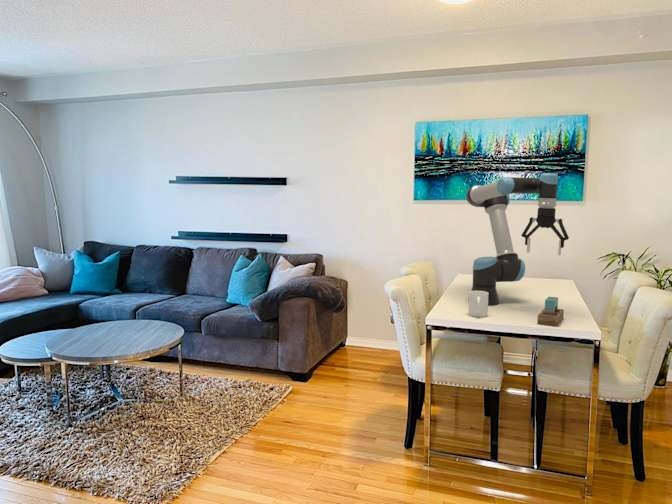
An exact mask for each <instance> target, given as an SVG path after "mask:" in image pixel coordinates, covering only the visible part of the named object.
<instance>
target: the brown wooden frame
mask: <svg viewBox="0 0 672 504" xmlns="http://www.w3.org/2000/svg"><path fill="white" fill-rule="evenodd" d="M544 311H545V307H543V309H542V310H541V311H540V312H539V313H538V314H537V321H536V324H537V325H542V326H549V327H550V326H551V327H558V326H559V325H560V324H561V322H562V321H563V319H564V311H565V310H564V309H563V308H561V309H560V308H558V311H557V312H555V315H546V314H544Z"/></svg>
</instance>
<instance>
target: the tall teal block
mask: <svg viewBox="0 0 672 504" xmlns="http://www.w3.org/2000/svg"><path fill="white" fill-rule="evenodd" d="M544 308H545V311H544V314H546V315H555V312H557V311H558V309H559V297H558V296H557V297H556V296H548V297H547V298H546V299H545V300H544Z"/></svg>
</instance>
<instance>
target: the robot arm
mask: <svg viewBox="0 0 672 504" xmlns="http://www.w3.org/2000/svg"><path fill="white" fill-rule="evenodd" d="M558 179H559V177H558V174H557V173H552V172H551V173H548V172H547V173H541V174H540V176H539V177H512V176H510V177H509V176H505V177H504V176H503V177H500V178H498V180H497V181H493V182H491V183H490V182H489V183H487V184H484V185H479V184H478V185H473V186H471V187H469V188H468V189H467V191H466V193H465V198H466V199H465V200H466V201H467V203H468V204H470V205H471V206H473V207H476V208H484V211H485V213H486V214H488V216H489V222H490V228H491V233H492V237H493V242H494V246H495V251H496V256H483V257H482V256H481V257H477V258H475V259H474V260H473V265H472V288H471V290H470V291H485V292H488V293H489V295H488V306H496V305H499V303H500V298H499V294H498V292H497V283H502V282H503V283H505V282H506V283H508V282H509V283H510V282H511V283H513V282H519V281H520V280H522V279H523V278H524V276H525V273H526V263H525V261H524V260H523V259H522V258H519V254H518V253H517V252H515V251H514V247H513V242H512V238H511V231H510V227H509V224H508V219H507V214H506V210H507V209H508V206H509V204H510V199H511V196H510V195H512V194H517V195H518V194H520V195H523V194H528V195H538V203H537V206H538V208H537V215H536V216H537V217H530V218H529V220H528V223H527V224H526V227H525V229H523V232H522V233H521V237H522V238H524V239H525V240H524V241H525V242H524V246H526V253H530V249H531V239H532V238H531V237H530V236H532V235H533V234H534V233H535V232H536V231H537V230H538V229H539V228H542V229H543V228H544V229H545V228H546V229H551V230H552V231H553V232H554V234H556V236H557V237H558V238H559V240H558V247H557V256H561V252H562V249H563V248H564V247H565V241H567V240H569V239H570V237H569V235H568V233H567V231H566V228H565V226H564V223H563V219H562V218H556V207H557V195H558V185H559V181H558ZM535 222H536V223H537V224H536V225H535V226H534V227H533V228H532V229H531V230H530V228H531V226H532V225H533V223H535ZM555 223H557V224H558V226H559V228H560V230H561V232H560V231H559V230H558V229H557V227H556V226H555ZM529 230H530V231H529ZM528 231H529V232H528ZM468 302H469V299H468Z"/></svg>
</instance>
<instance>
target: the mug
mask: <svg viewBox="0 0 672 504" xmlns="http://www.w3.org/2000/svg"><path fill="white" fill-rule="evenodd" d="M488 295H489V293H488V292H485V291H471V290H470V291H469V292H468V300H469V301H468V315H469V316H471V317H473V316H474V317H475V318H486V317H487V316H488V313H489V311H488V310H489V305H488ZM474 317H473V318H474Z"/></svg>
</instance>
